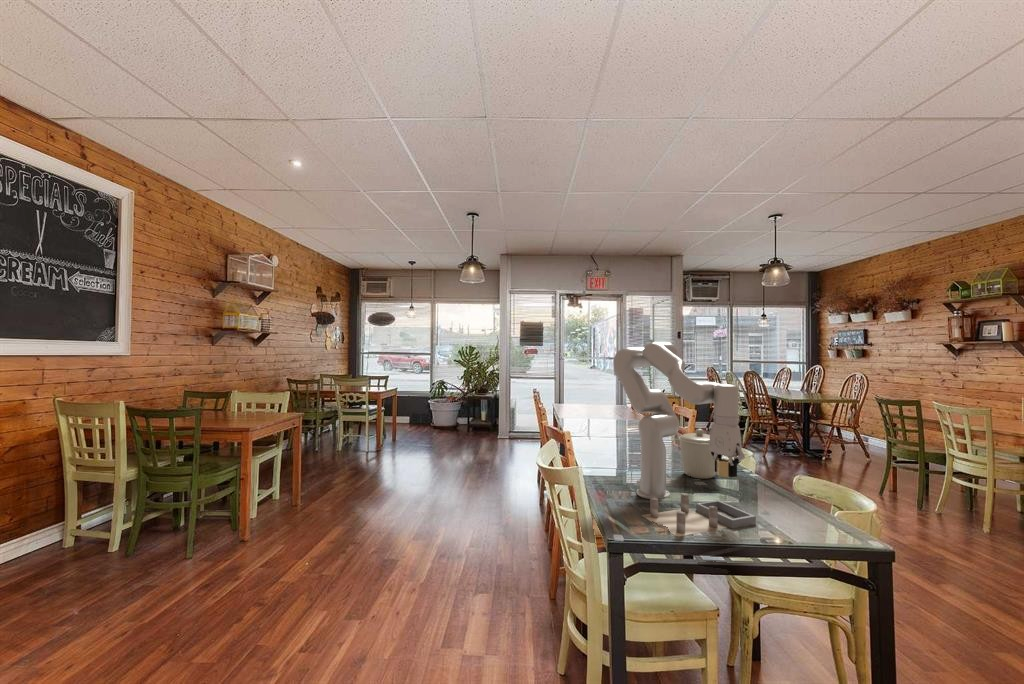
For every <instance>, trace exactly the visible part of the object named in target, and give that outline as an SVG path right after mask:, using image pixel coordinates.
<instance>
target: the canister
mask: <svg viewBox="0 0 1024 684" xmlns="http://www.w3.org/2000/svg"><path fill="white" fill-rule="evenodd" d="M678 440H679V447H680V457H681V465H682V470H683V472H684V474H686V476H688V477H690V476H691V478H694V479H702V480H703V479H704V480H705V479H712V478H714V477H715V475H716V472H715V460H714V459H713V456H712V454H711V452H710V451H709V449H708V447H709V441H710V434H707V433H705V431H704V429H702V428H697V429H695V432H689V433H684V434H682V435H680V436H678Z"/></svg>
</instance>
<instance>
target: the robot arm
mask: <svg viewBox="0 0 1024 684" xmlns="http://www.w3.org/2000/svg"><path fill="white" fill-rule="evenodd" d="M648 367H650V368H651V367H654V368H655V369H657V370H658V372H660V373H661V374H662V375H664V376H665V377H666V378H667V379H668V383H669V385H670V387H671V389H672V390H673V391H674V392H675V394H676V395H678V396H679V397H680V398H682V399H683V400H684V401H686V402H687V403H689V404H691V405H694V406H695V405H706V404H713V415H712V419H713V422H712V423H711V426H710V433H709V435H710V441H709V447H708V449H709V451H710V452H711V454H712V456H713V459H714V460H715V472H716V459H720V458H723V456H724V457H728V458H727V459H729V462H730V465H729V466H728V476H729V478H735V477H737V476H738V466H739V465H740V463H741V462H742V461H743V460H745V459H746V456H745V454H744V453H743V450H742V436H741V435H742V434H741V428H740V426H739V388H738V386H737V385H735V384H728V383H717V382H713V381H704V382H703V381H699V382H696V381H694V380H692V379H691V378H689V377H688V375H686V374H685V372H684V370H685V367H686V363H685V361H684V359H682V358H680V357H679V356H678V350H677V347H676V346H675V345H674V344H673V343H671V342H668V341H652V342H649V343H647V344H646V345H645V346H642V347H641V346H638V347H637V346H636V347H634V346H632V347H630V346H628V347H624V348H621V349H619V350H618V351H617V352H616V353H615V355H614V358H613V370H614V372H615V375H616V376H617V378H618V380H619V382H620V384H621V385H622V387H623V389H624V392H625V394H626V397H627V399H628V401H629V403H630V404H631V407H632V409H633V410H634V411H635V412H636V413H637V414H647V415H644V416H643V417H642V418H641V419H640V420H639V422H638V428H637V429H638V434H639V438H640V440H639V441H640V478H639V479H637V480H636V483H637V484H638V485H639V488H637V489H636V495H638V496H639V497H640V498H643V499H647V500H650V498H657V499H658V500H662V499H669V498H670V497H671V493H670V491H669V490H667V449H666V445H665V442H664V438H669V437H672V436H675V435H677V433H678V432H679V430H680V422H679V418H678V416H677V414H676V412H675V409H674V408H673V407H672V404H671V402H670V400H669V398H668V396H667V395H666V394H665V393H664V391H662V390H660V389H658V388H649V387H647V385H646V382H645V381H644V379H643V378H642V376H641V375H640V373H639V372H637V371H636V368H648ZM650 413H651V414H650Z"/></svg>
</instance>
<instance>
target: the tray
mask: <svg viewBox="0 0 1024 684" xmlns="http://www.w3.org/2000/svg"><path fill="white" fill-rule="evenodd" d="M709 506H715V507H717V508H718V509H719V510H721V511H723V512H725V513H728V514H729V515H732V516H734V517H735V518H731V517H729V516H727V515H726V514H725V515H724V514H723V513H721V512H719V511H718V523H720V524H722V525H724V526H726V527H729V528H731V529H736V528H741V527H746V526H752V525H754V526H756V525H757V524H756V522H757V519H756V518H757V517H756V515H754V514H751V513H749V512H747V511H745V510H743V509H740V508H738V507H735V506H733V505H730V504H728V503H727V502H723V501H721V500H719V499H717V500H716V499H715V500H709V501H703V502H697V503H695V512H697V513H699V514H701V515H703V516H705V517H707V518H709Z"/></svg>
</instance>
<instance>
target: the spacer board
mask: <svg viewBox="0 0 1024 684" xmlns="http://www.w3.org/2000/svg"><path fill="white" fill-rule="evenodd" d="M649 500H650V502H649V505H650V507H649V508H650V510H649V513H647V514H646V513H645V514H642V515H640V516H641V517H643V518H645V519H647V520H648V521H649V522H651V523H653V522H652V521H654V522H660V523H662V524H663V526H666V527H668V529H669V531H670V532H669V533H670V534H672V535H673V534H674V536H675V537H677V536H678V537H677V538H679V537H684V536H690V535H694V534H695V535H696V534H700V533H701V534H702V533H705V532H711V531H716V530H722V529H727V528H728V527H729V526H727V525H725V524H722V523H720V522H718V512H719V511H718V508H717V507H715V506H709V517H708V516H706V515H704V514H702V513H700V512H698V511H696V510H695V511H694V510H693V509H691V508H689V507H690V495H689V493H684V492H683V493H680V508H679V509H673V510H665V511H660V512H659V499H657V498H650V499H649Z"/></svg>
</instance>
